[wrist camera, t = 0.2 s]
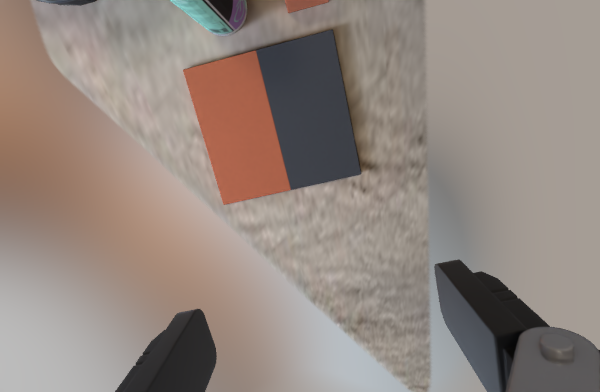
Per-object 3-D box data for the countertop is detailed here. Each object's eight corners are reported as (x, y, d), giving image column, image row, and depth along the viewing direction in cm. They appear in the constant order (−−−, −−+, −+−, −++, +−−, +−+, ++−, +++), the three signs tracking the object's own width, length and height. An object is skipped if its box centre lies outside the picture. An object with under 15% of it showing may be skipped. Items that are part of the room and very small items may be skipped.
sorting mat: (184, 70, 37) (182, 69, 37) (332, 30, 36) (332, 29, 35) (224, 203, 41) (223, 204, 40) (360, 173, 39) (361, 174, 39)
